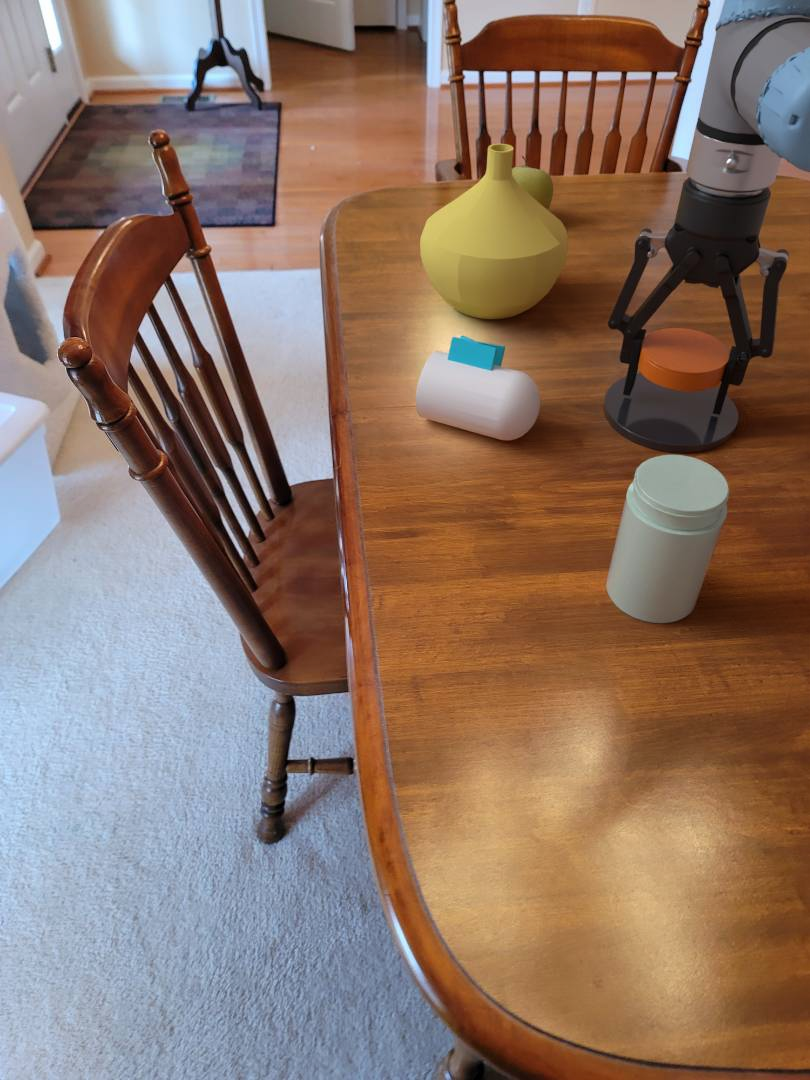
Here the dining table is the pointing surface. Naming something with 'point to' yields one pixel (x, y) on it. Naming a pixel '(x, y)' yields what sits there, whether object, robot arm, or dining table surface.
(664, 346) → the lid
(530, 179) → the apple
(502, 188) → the vase
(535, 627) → the dining table surface
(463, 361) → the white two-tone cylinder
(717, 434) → the mat
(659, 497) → the jar
